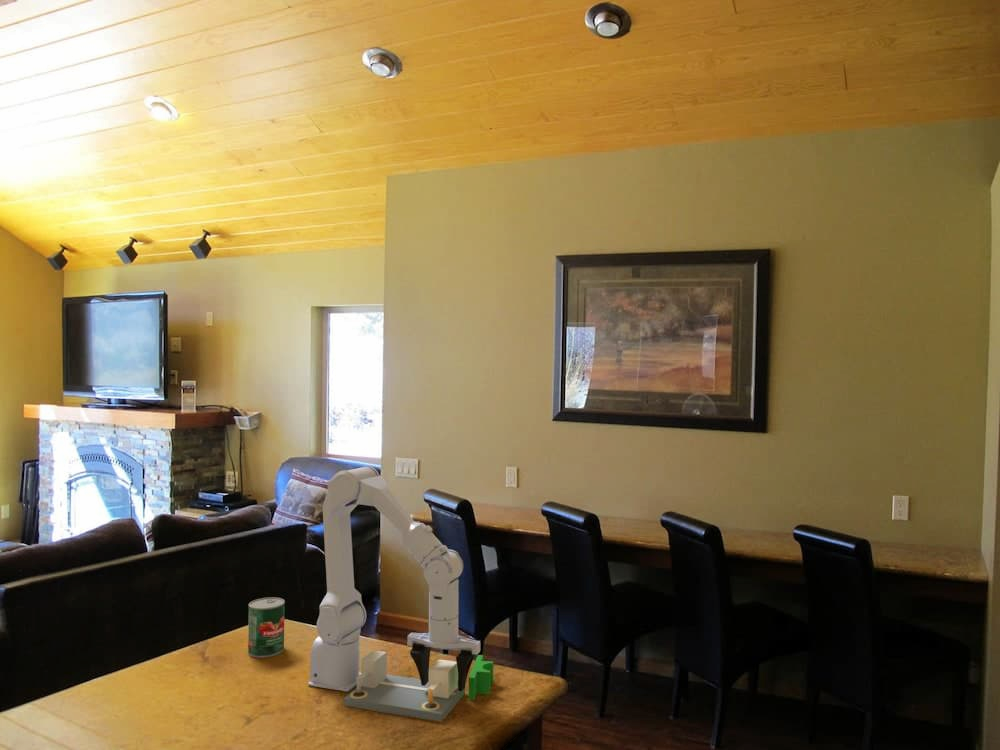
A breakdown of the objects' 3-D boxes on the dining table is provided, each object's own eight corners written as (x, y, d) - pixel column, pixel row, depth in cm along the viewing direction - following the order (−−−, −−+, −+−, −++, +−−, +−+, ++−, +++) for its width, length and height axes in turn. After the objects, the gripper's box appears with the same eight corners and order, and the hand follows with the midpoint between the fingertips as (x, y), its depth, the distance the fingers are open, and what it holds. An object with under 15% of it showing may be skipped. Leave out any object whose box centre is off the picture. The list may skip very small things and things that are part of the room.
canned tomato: (271, 659, 151) (272, 609, 151) (240, 655, 153) (241, 606, 153) (290, 646, 158) (291, 598, 159) (260, 642, 160) (261, 596, 160)
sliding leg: (419, 704, 126) (420, 677, 126) (438, 684, 134) (438, 659, 134) (439, 707, 125) (440, 680, 125) (457, 687, 133) (457, 661, 133)
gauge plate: (344, 705, 129) (344, 670, 129) (374, 679, 140) (374, 647, 140) (441, 722, 123) (441, 684, 123) (464, 693, 134) (465, 659, 134)
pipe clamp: (487, 702, 131) (487, 678, 131) (468, 701, 132) (468, 677, 132) (495, 677, 142) (495, 655, 142) (477, 676, 143) (477, 654, 143)
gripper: (485, 613, 133) (485, 682, 133) (418, 605, 138) (417, 672, 137) (473, 625, 126) (473, 698, 126) (402, 616, 131) (402, 687, 131)
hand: (443, 686), depth 131 cm, fingers open, 7 cm apart
